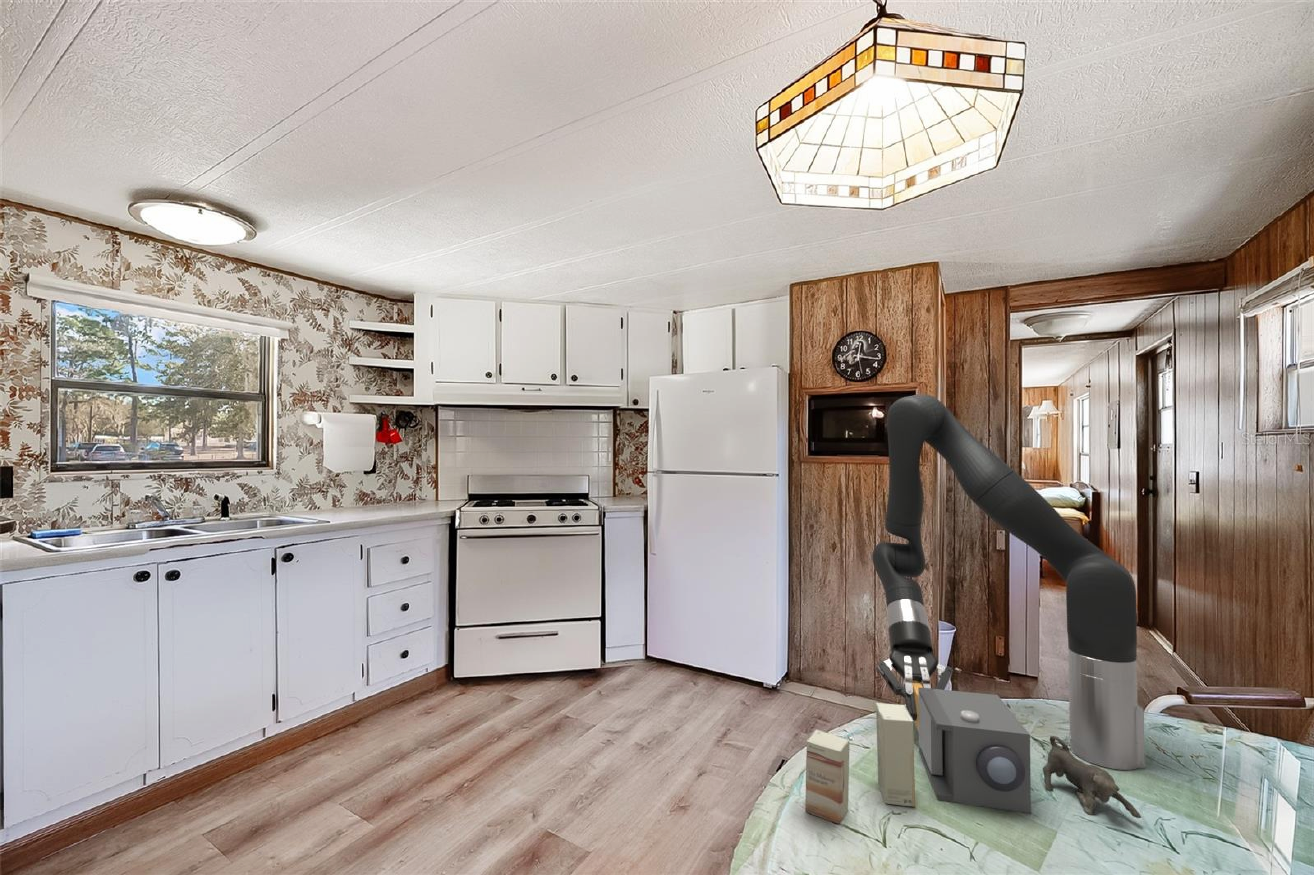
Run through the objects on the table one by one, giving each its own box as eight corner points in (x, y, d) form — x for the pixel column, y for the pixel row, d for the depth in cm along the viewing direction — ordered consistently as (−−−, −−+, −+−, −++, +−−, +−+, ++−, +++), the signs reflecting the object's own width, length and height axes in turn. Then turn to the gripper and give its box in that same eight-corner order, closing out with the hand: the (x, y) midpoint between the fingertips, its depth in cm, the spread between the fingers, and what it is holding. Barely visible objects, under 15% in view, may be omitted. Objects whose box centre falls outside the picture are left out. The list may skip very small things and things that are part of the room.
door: (920, 726, 105) (920, 677, 106) (942, 775, 89) (942, 717, 89) (911, 724, 106) (911, 676, 106) (931, 774, 89) (930, 716, 90)
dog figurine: (1035, 783, 89) (1033, 734, 89) (1066, 779, 90) (1065, 731, 91) (1108, 832, 77) (1107, 775, 78) (1144, 827, 78) (1142, 771, 79)
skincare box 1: (804, 812, 81) (804, 740, 81) (814, 797, 85) (814, 728, 85) (841, 826, 78) (841, 750, 78) (850, 809, 82) (850, 738, 82)
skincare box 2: (916, 808, 82) (915, 722, 83) (883, 804, 83) (882, 719, 83) (906, 784, 88) (905, 704, 89) (875, 780, 89) (875, 701, 90)
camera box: (998, 762, 95) (997, 690, 95) (1034, 818, 80) (1033, 733, 80) (918, 752, 98) (918, 682, 98) (939, 804, 83) (938, 722, 83)
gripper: (873, 616, 112) (881, 706, 100) (949, 621, 109) (968, 715, 96) (870, 635, 117) (878, 723, 105) (943, 641, 114) (960, 733, 101)
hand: (921, 719), depth 101 cm, fingers closed on door
